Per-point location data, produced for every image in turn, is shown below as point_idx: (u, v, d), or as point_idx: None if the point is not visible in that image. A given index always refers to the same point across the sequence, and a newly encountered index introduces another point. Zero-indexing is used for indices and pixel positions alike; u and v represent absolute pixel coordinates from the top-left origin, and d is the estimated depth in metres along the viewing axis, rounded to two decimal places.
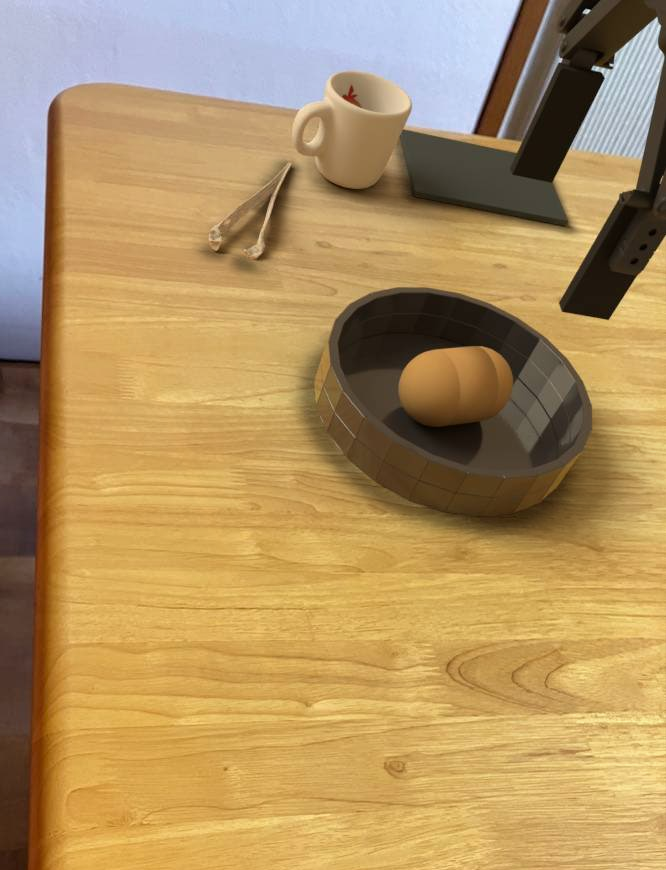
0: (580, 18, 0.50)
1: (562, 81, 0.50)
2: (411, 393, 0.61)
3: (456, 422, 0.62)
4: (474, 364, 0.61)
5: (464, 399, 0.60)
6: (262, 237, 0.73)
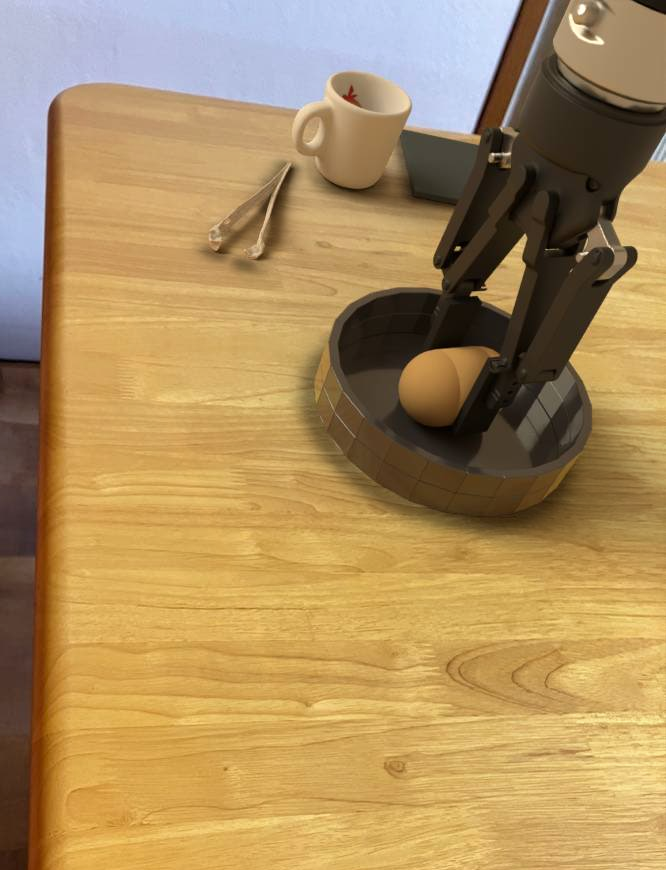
0: None
1: (451, 312, 0.61)
2: (411, 393, 0.61)
3: None
4: (474, 364, 0.61)
5: (464, 399, 0.60)
6: (262, 237, 0.73)
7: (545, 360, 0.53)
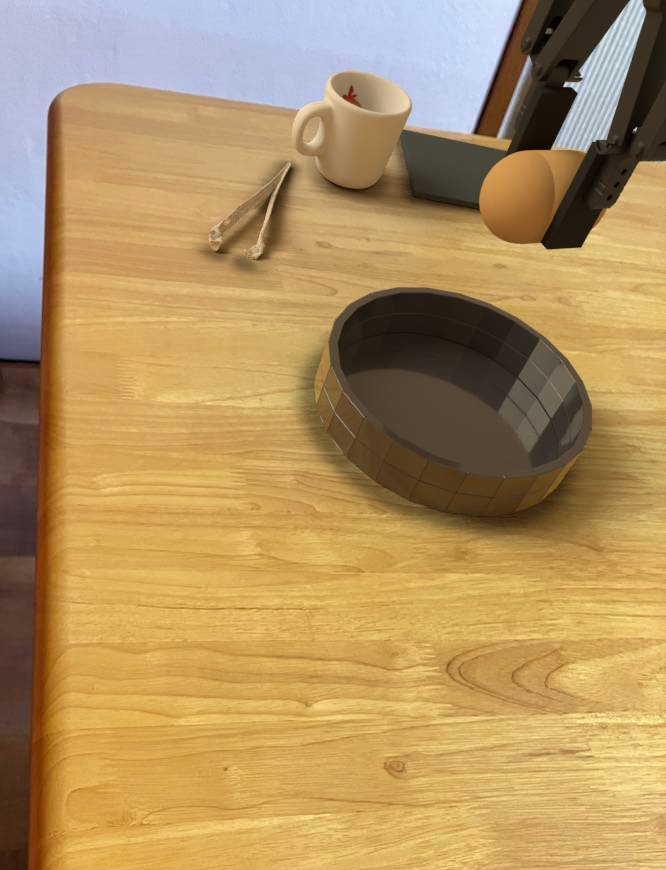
0: (543, 35, 0.52)
1: (542, 103, 0.53)
2: (497, 198, 0.53)
3: None
4: (569, 163, 0.53)
5: (559, 203, 0.53)
6: (262, 237, 0.73)
7: None
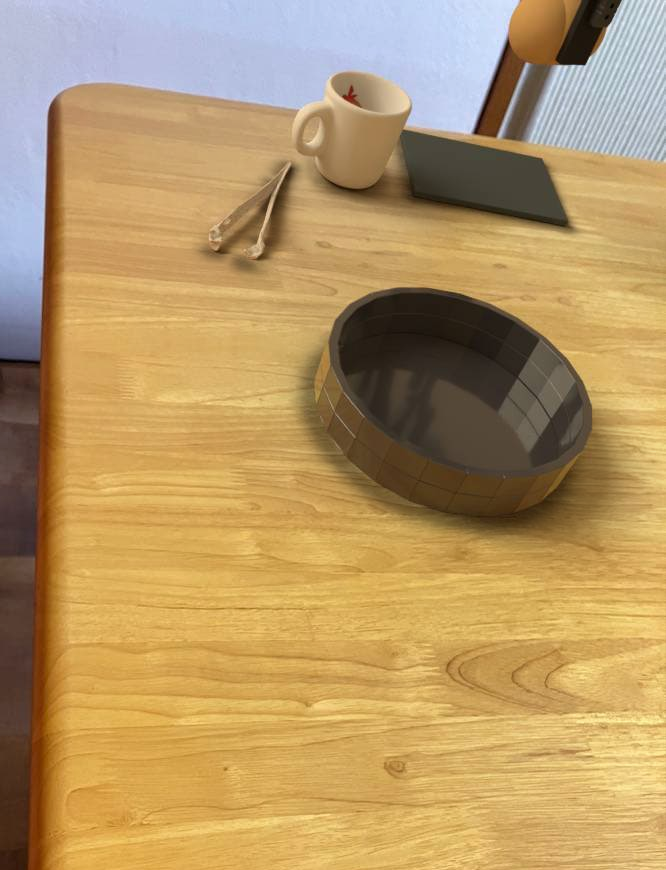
0: None
1: None
2: (523, 24, 0.71)
3: None
4: None
5: (569, 26, 0.71)
6: (262, 237, 0.73)
7: None
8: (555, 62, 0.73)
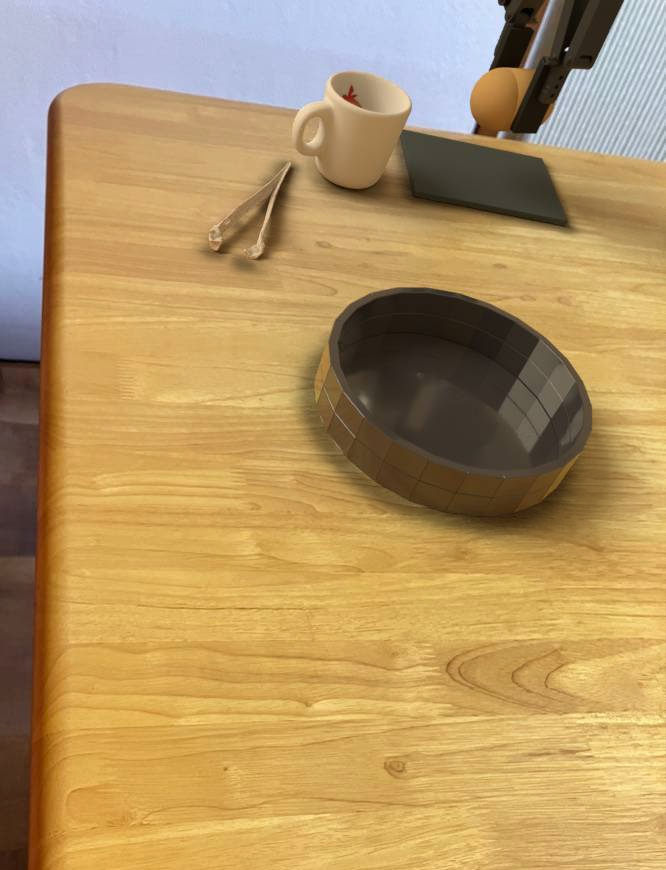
0: None
1: (511, 36, 0.82)
2: (481, 98, 0.82)
3: None
4: (528, 75, 0.82)
5: (521, 101, 0.81)
6: (262, 237, 0.73)
7: (585, 44, 0.74)
8: (510, 130, 0.84)
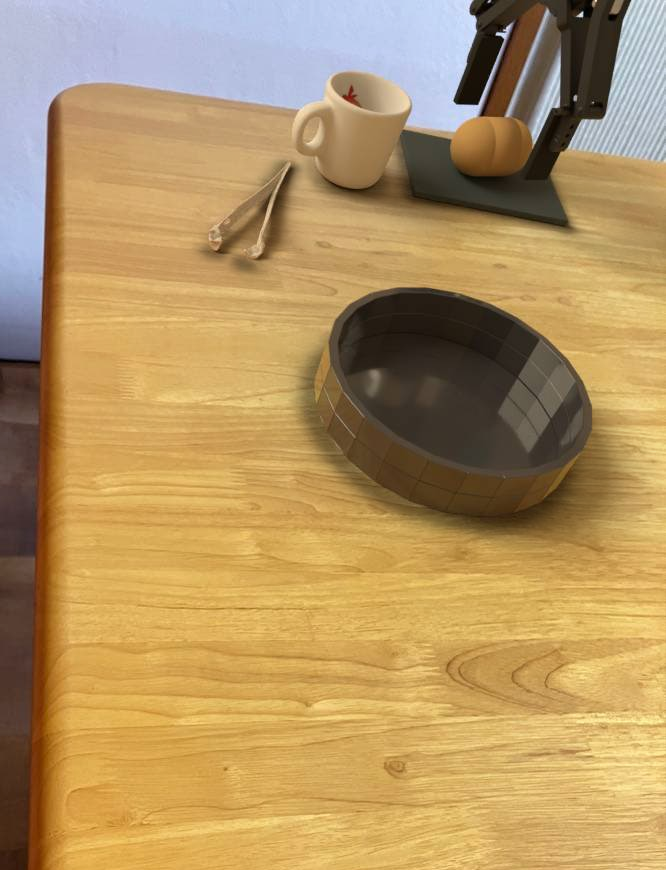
0: (483, 5, 0.85)
1: (482, 45, 0.85)
2: (460, 145, 0.86)
3: (493, 169, 0.87)
4: (504, 123, 0.85)
5: (499, 146, 0.85)
6: (262, 237, 0.73)
7: (592, 91, 0.74)
8: (490, 174, 0.88)
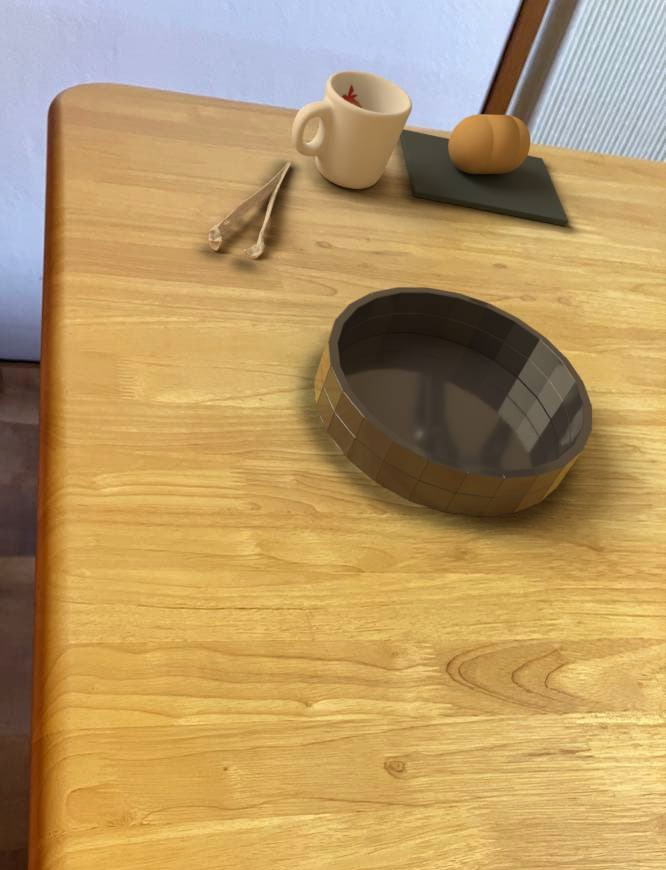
0: None
1: None
2: (458, 141, 0.86)
3: (493, 163, 0.87)
4: (500, 118, 0.86)
5: (497, 139, 0.85)
6: (262, 237, 0.73)
7: None
8: (491, 170, 0.88)
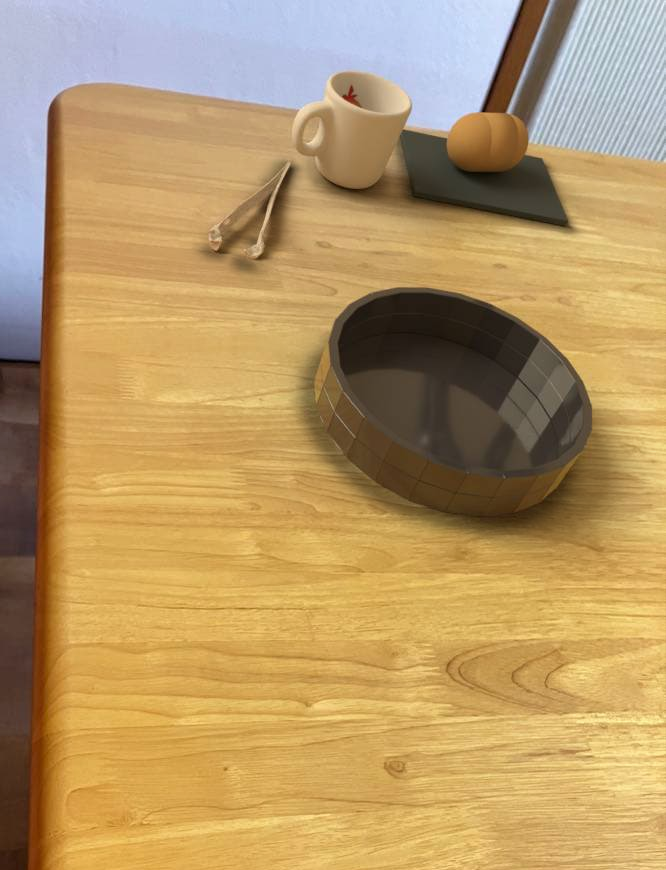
0: None
1: None
2: (456, 138, 0.86)
3: (493, 157, 0.86)
4: (496, 114, 0.86)
5: (495, 133, 0.85)
6: (262, 237, 0.73)
7: None
8: (491, 166, 0.87)
